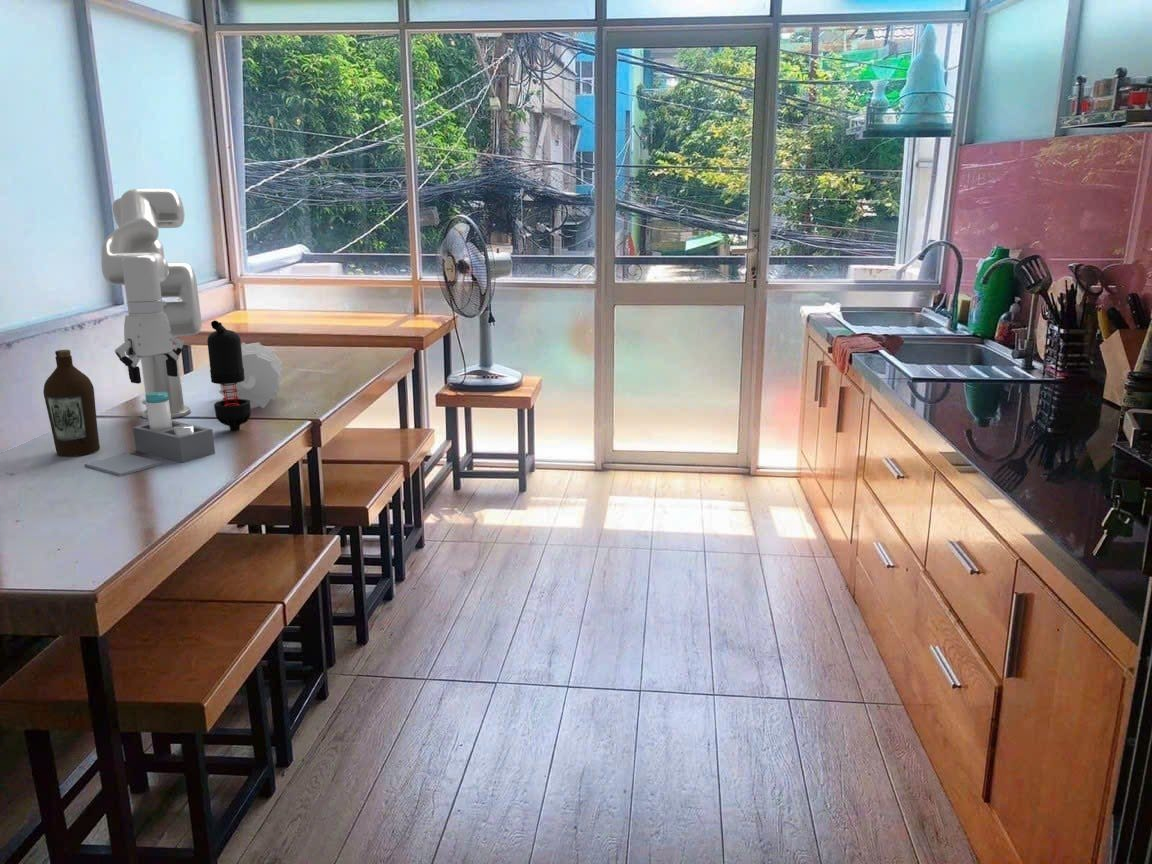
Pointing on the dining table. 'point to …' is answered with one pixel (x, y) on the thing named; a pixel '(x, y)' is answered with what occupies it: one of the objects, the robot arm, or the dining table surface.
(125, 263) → the robot arm
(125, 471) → the mat
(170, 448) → the housing
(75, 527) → the dining table surface
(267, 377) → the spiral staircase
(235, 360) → the filter
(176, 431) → the silver metallic cylinder
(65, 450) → the olive oil
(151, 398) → the cylinder
